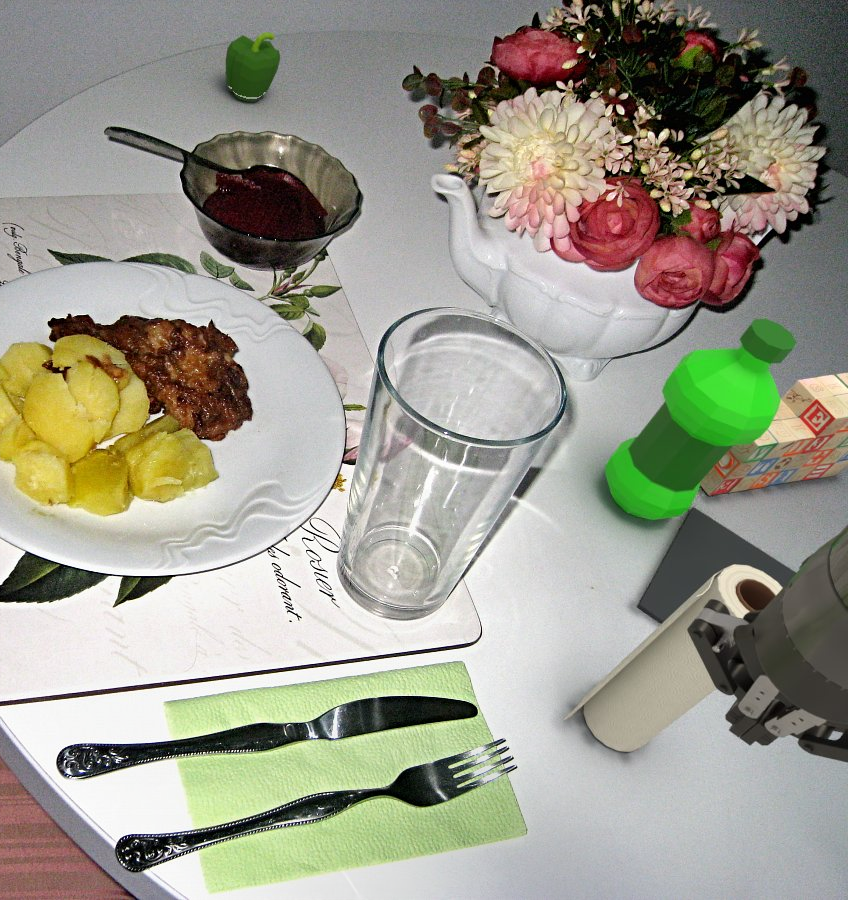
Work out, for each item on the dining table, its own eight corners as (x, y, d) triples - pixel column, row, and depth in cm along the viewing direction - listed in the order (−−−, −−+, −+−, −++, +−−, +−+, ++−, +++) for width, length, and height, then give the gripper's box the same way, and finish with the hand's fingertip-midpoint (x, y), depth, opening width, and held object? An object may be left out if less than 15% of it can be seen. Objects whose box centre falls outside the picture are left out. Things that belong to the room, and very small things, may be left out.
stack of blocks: (708, 498, 103) (775, 427, 94) (676, 457, 107) (738, 385, 98) (837, 475, 111) (911, 407, 102) (803, 437, 114) (871, 368, 105)
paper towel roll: (651, 714, 82) (803, 590, 67) (636, 767, 79) (794, 649, 63) (579, 671, 84) (712, 540, 68) (561, 720, 80) (697, 594, 64)
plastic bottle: (642, 550, 96) (793, 386, 77) (572, 480, 101) (698, 310, 82) (695, 517, 101) (849, 357, 82) (626, 452, 106) (756, 286, 87)
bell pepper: (219, 102, 141) (231, 39, 133) (220, 77, 146) (231, 15, 139) (271, 112, 142) (286, 50, 135) (270, 87, 148) (284, 26, 140)
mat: (796, 576, 98) (799, 574, 98) (753, 687, 87) (756, 684, 86) (690, 509, 102) (693, 506, 101) (636, 607, 91) (639, 604, 90)
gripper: (701, 592, 46) (622, 701, 60) (982, 775, 40) (819, 848, 54) (775, 496, 48) (682, 623, 62) (1050, 654, 42) (878, 755, 56)
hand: (746, 727), depth 58 cm, fingers closed
